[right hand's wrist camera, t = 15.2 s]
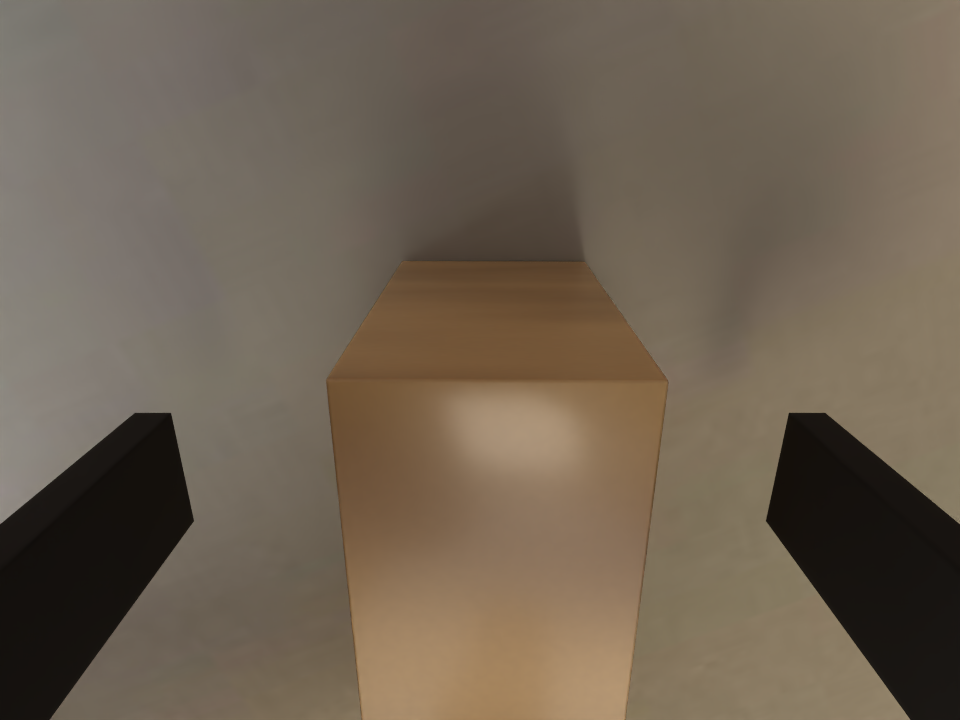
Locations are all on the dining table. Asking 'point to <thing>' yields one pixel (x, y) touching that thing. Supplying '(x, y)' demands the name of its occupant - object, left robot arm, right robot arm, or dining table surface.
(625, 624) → the beam
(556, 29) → the dining table surface
